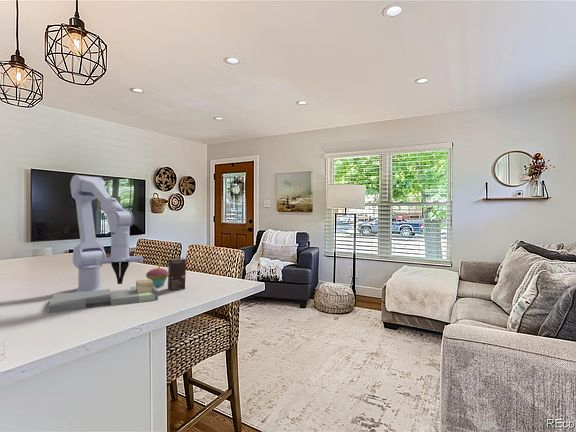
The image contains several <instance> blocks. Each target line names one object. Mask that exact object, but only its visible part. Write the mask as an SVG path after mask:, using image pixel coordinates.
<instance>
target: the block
mask: <svg viewBox="0 0 576 432" xmlns="http://www.w3.org/2000/svg"><path fill="white" fill-rule="evenodd" d="M135 282H136V283H135V287H136V291H137V293H141V292H151V291H153V281H152V280H151V279H148V278H147V279H145V278H144V279H136V280H135Z"/></svg>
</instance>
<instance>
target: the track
mask: <svg viewBox="0 0 576 432" xmlns="http://www.w3.org/2000/svg"><path fill="white" fill-rule="evenodd" d="M157 288H158V287H155V286H154V284H153V291H151V292H141V293H137V291H136V286H130V289H120V290H119V289H118V290H110V288H108V289H102V290H95V291H84V292H77V291H74V292H65V293H56V294H54V295H53V296H52V299H51V300H50V302H49V304H48V308H47V309H48V313H57V312H65V311H74V310H82V309H89V308H91V309H92V308H100V307H106V306H115V305H116V306H117V305H123V304H132V303H141V302H142V303H144V302H149V301H158V300H159V290H158V289H157Z"/></svg>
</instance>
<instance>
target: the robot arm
mask: <svg viewBox="0 0 576 432" xmlns="http://www.w3.org/2000/svg"><path fill="white" fill-rule="evenodd" d="M105 183H106V182H105V180H104V179H103V177H102V176H89V175H88V176H87V175H79V174H75V175H73V176H72V177H71V181H70V183H69V185H70V192H71V193H70V194H71V197H72V198H73V199H74V200H75V205H76V212H77V213H76V215H77V224H78V230H79V239H80V241H79V242H80V243H79V244H76V246H75V247H74V248H73V249H72V250H73V252H72V253H73V254H72V264H73V266H74V267H75V268H77V270H78V271H77V273H78V275H77V277H78V278H77V281H78V282H77V283H78V287H77V289H76V292H84V291H95V290H103V289H102V284H101V269H102V267H103V265H106V264H107V265H108V264H111V268H112V269H113V272H114V273H115V277H116V281H117V285H122V284H123V280H124V277H125V275H126V271H127V270H128V268H129V265H130V263H143V262H144V256H143V255H130V232H131V231H130V229H131V228H130V227H132V226H133V224H134V215H133V213H132V211H131V210H127V209H124V207H123V206H122V205H121V204H120V203H119V201H118V200H117V198H115V197H111V196H110V194H109V193H108V191H107V190H106V184H105ZM96 199H97V200H98V201H99V202H100V208H101V210H102V211H103V212H104V214H105V215H106V217H107V224H108V227H109V232H110V233H111V234H110V256H107V253H106V251H105V248H104V246H103V244H101V243H100V242H98V241H97V238H96V237H97V236H96V229H95V223H94V214H93V213H94V212H93V207H92V201H94V200H96Z"/></svg>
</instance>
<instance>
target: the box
mask: <svg viewBox="0 0 576 432" xmlns="http://www.w3.org/2000/svg"><path fill="white" fill-rule="evenodd" d="M167 267H168V269H167V272H168V277H167V289H168V290H169V291H175V290H184V289H186V274H187V273H186V271H187V259H185V258H184V257H179V258H178V257H176V258H175V257H174V258H169V259H168V265H167Z"/></svg>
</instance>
